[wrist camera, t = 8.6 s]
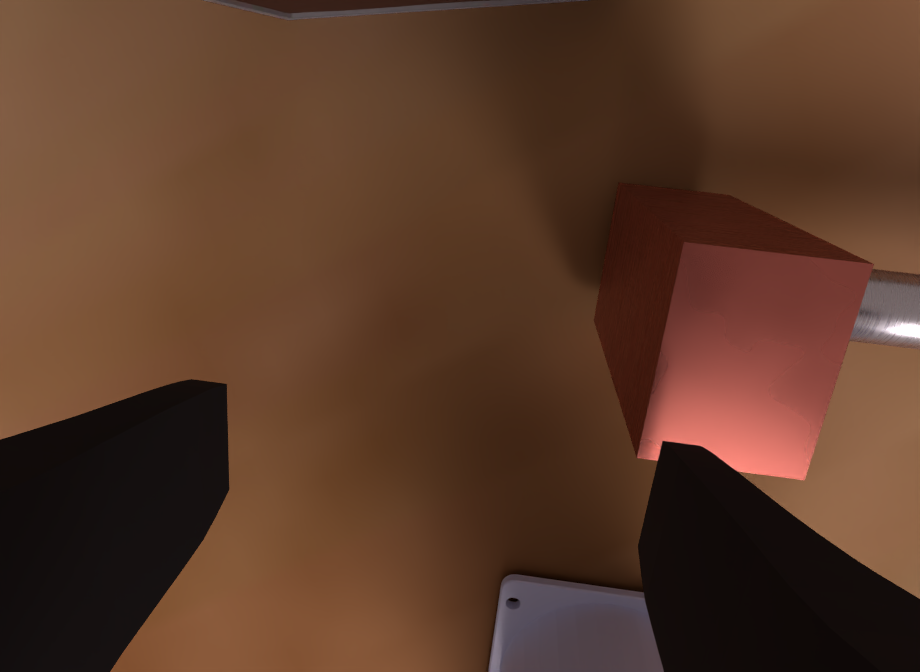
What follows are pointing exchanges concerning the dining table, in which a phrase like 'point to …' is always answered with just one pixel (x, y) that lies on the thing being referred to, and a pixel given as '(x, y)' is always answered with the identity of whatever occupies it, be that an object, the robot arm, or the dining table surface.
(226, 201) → the dining table surface
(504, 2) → the food container
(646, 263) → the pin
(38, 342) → the dining table surface
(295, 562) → the dining table surface
